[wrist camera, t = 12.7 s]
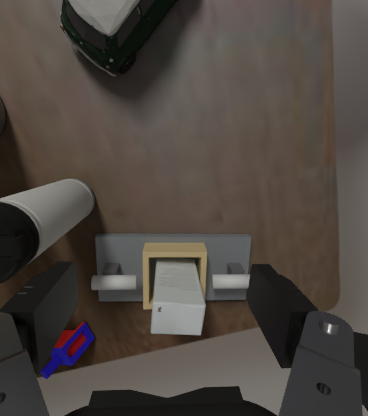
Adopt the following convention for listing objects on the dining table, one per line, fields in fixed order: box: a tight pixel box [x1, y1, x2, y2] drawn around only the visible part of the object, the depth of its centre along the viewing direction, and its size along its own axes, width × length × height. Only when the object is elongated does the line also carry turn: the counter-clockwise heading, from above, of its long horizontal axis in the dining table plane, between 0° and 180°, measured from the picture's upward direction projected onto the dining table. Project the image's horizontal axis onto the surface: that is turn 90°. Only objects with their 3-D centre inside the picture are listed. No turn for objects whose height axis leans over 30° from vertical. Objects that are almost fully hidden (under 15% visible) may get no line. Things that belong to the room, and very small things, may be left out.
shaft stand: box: [91, 234, 251, 309], centre depth 38 cm, size 24×11×6 cm, turn 89°
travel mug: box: [0, 178, 95, 283], centre depth 28 cm, size 6×7×20 cm
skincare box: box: [151, 257, 206, 335], centre depth 34 cm, size 6×4×12 cm
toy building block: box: [40, 322, 95, 379], centre depth 40 cm, size 4×4×8 cm
